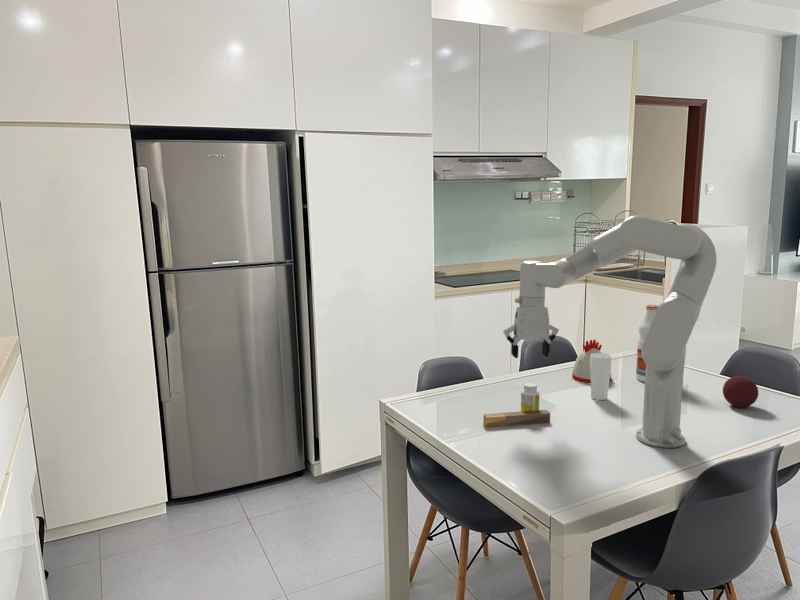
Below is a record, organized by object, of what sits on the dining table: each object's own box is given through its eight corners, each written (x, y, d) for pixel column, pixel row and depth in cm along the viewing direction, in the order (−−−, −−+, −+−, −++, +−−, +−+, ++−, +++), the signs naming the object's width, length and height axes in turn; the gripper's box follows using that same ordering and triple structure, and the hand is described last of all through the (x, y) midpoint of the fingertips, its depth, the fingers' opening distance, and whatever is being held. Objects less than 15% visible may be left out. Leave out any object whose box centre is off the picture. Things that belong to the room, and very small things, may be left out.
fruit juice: (664, 378, 224) (668, 304, 219) (662, 384, 216) (666, 308, 211) (637, 375, 228) (641, 302, 224) (634, 381, 220) (638, 307, 215)
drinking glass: (607, 395, 205) (608, 353, 203) (611, 401, 199) (613, 358, 196) (586, 394, 206) (588, 352, 203) (591, 401, 199) (592, 357, 197)
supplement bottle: (535, 412, 190) (536, 381, 188) (541, 418, 184) (542, 387, 183) (518, 413, 189) (519, 382, 187) (523, 419, 184) (524, 387, 182)
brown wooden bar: (550, 422, 181) (550, 413, 180) (486, 427, 178) (486, 417, 178) (546, 419, 184) (546, 409, 183) (483, 423, 181) (483, 414, 181)
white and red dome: (564, 375, 229) (566, 337, 226) (594, 371, 234) (595, 334, 231) (588, 385, 216) (589, 345, 214) (618, 381, 221) (620, 341, 218)
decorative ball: (749, 414, 185) (752, 383, 184) (716, 406, 193) (718, 376, 191) (762, 406, 192) (764, 376, 190) (729, 399, 199) (731, 370, 198)
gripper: (508, 304, 176) (507, 360, 179) (564, 302, 178) (561, 358, 181) (500, 300, 183) (499, 354, 186) (554, 298, 186) (552, 352, 189)
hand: (530, 356), depth 184 cm, fingers open, 9 cm apart
